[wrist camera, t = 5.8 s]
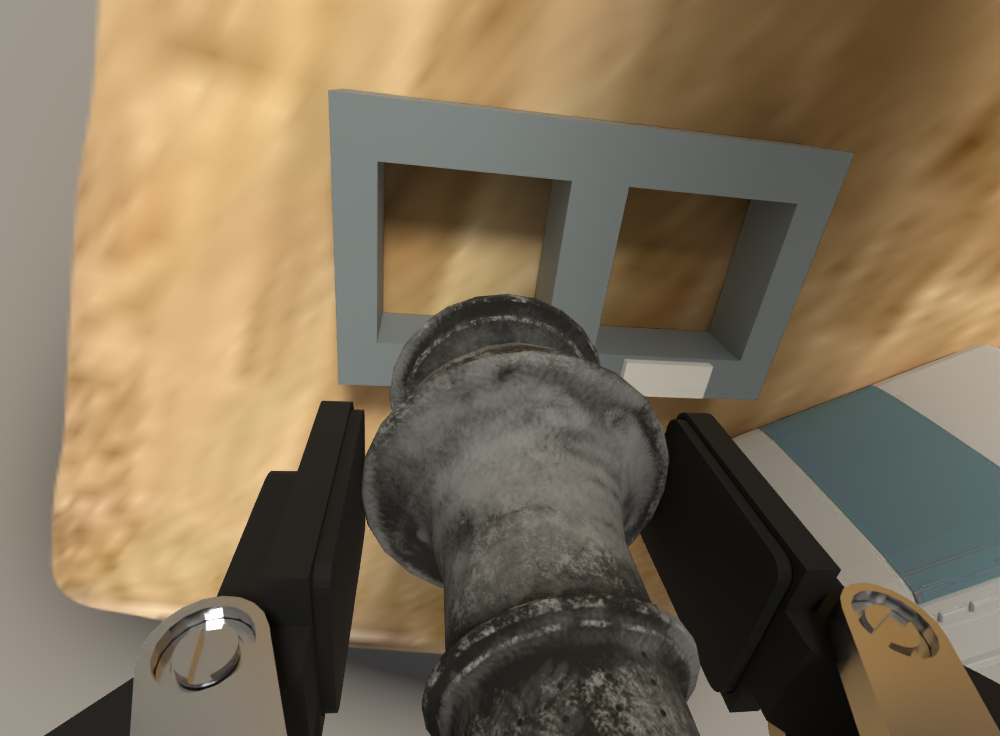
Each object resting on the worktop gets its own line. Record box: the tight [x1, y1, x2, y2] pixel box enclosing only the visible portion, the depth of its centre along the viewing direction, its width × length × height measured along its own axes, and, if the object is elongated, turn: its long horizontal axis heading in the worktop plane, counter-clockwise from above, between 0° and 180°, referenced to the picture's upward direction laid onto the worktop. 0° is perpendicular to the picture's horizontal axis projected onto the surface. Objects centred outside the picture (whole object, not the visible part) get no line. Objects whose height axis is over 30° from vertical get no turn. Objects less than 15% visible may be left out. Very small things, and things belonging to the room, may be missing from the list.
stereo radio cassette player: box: [732, 344, 1000, 672], centre depth 25 cm, size 21×8×20 cm, turn 112°
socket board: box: [328, 89, 854, 400], centre depth 24 cm, size 12×21×4 cm, turn 84°
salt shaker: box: [362, 294, 700, 736], centre depth 8 cm, size 6×6×12 cm
